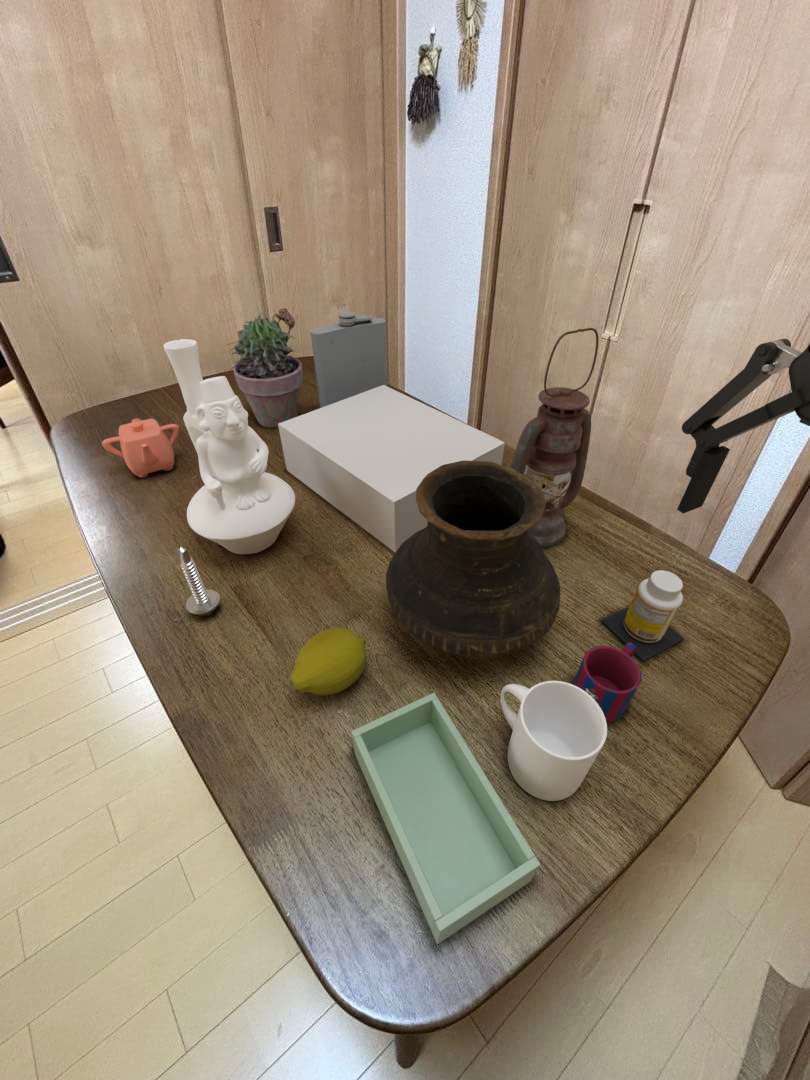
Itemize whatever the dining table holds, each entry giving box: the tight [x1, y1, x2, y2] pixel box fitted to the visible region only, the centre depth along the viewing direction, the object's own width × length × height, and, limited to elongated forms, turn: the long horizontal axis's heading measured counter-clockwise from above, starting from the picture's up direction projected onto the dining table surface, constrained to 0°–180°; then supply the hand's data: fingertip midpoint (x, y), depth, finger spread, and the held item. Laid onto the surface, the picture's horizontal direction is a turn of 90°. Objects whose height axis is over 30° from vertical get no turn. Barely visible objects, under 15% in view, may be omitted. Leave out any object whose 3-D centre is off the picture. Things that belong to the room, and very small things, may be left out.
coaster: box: [600, 606, 685, 663], centre depth 70 cm, size 8×8×1 cm
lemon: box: [289, 626, 367, 696], centre depth 62 cm, size 11×8×8 cm
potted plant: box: [224, 308, 304, 429], centre depth 112 cm, size 18×20×25 cm
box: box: [277, 385, 506, 553], centre depth 96 cm, size 28×35×11 cm
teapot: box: [101, 418, 180, 478], centre depth 101 cm, size 14×12×10 cm
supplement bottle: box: [624, 569, 684, 643], centre depth 67 cm, size 6×6×10 cm
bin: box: [351, 692, 541, 945], centre depth 50 cm, size 20×11×6 cm, turn 27°
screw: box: [175, 546, 221, 618], centre depth 69 cm, size 13×5×5 cm
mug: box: [500, 680, 608, 802], centre depth 53 cm, size 9×12×11 cm
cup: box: [571, 642, 642, 724], centre depth 61 cm, size 7×10×7 cm
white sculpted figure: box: [162, 338, 296, 555], centre depth 77 cm, size 18×22×32 cm
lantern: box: [509, 327, 599, 549], centre depth 76 cm, size 11×16×35 cm
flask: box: [309, 310, 388, 408], centre depth 112 cm, size 17×5×25 cm, turn 119°
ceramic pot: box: [385, 460, 561, 659], centre depth 65 cm, size 24×24×22 cm
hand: (753, 548), depth 44 cm, fingers open, 13 cm apart
